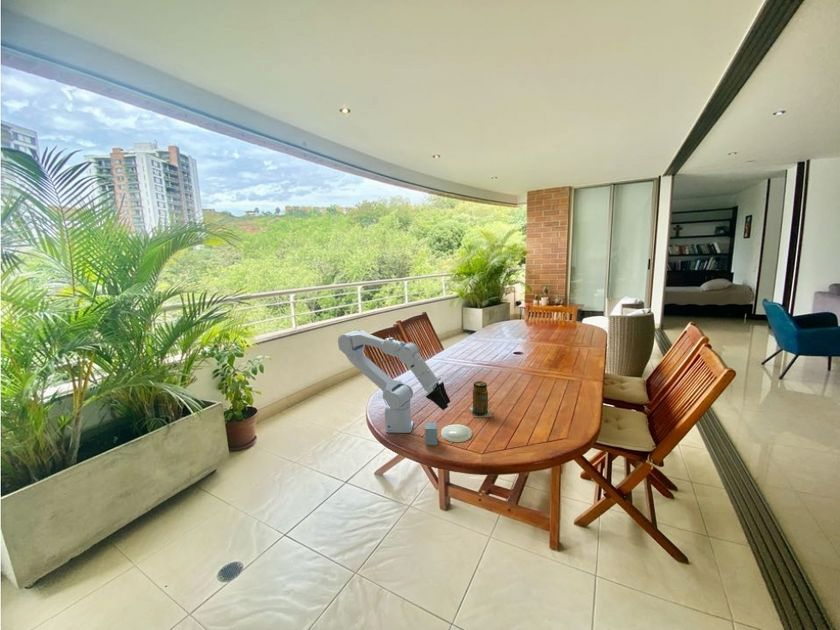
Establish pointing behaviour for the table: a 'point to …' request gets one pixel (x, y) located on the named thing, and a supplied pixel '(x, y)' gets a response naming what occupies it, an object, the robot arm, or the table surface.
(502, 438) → the table surface
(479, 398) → the condiment
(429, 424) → the block
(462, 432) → the dish
